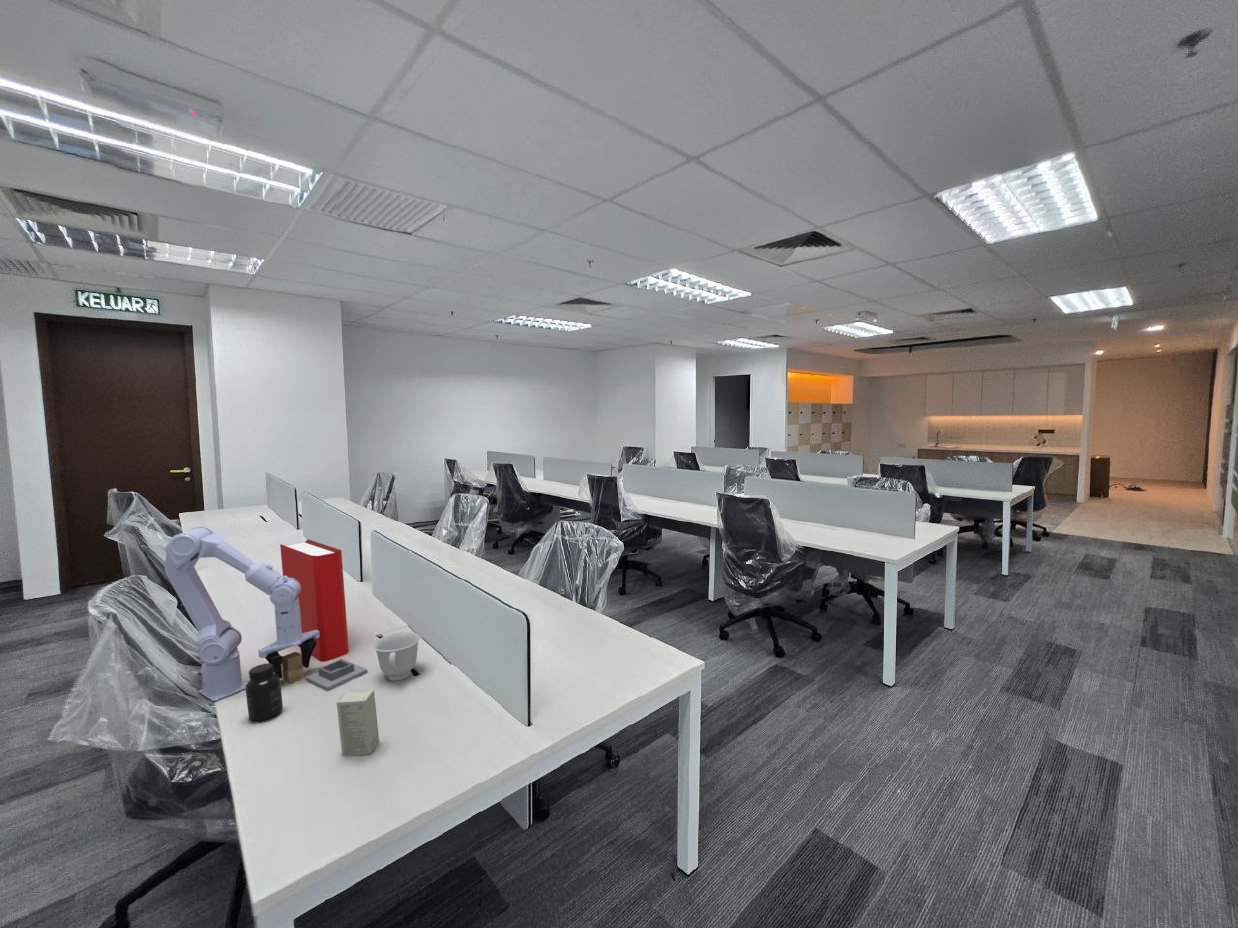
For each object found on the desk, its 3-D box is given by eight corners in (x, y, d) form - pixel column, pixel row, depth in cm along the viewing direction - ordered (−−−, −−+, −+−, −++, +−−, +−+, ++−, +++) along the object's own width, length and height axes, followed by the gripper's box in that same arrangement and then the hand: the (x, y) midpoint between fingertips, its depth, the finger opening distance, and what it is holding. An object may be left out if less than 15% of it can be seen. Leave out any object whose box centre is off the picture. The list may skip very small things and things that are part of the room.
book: (288, 639, 164) (280, 544, 161) (314, 631, 170) (307, 539, 167) (322, 662, 147) (314, 556, 144) (350, 652, 153) (343, 550, 150)
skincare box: (379, 742, 109) (376, 689, 108) (370, 755, 105) (366, 700, 104) (350, 743, 109) (346, 690, 108) (339, 756, 105) (335, 701, 104)
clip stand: (305, 680, 137) (304, 670, 136) (345, 663, 146) (344, 653, 146) (327, 691, 131) (326, 680, 131) (367, 672, 140) (366, 662, 140)
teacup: (368, 695, 128) (366, 658, 127) (379, 668, 142) (377, 634, 142) (418, 688, 131) (416, 651, 130) (424, 662, 146) (422, 629, 145)
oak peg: (283, 681, 137) (281, 656, 136) (296, 675, 140) (294, 651, 139) (289, 684, 135) (287, 659, 134) (303, 678, 138) (301, 654, 137)
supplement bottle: (277, 703, 125) (273, 658, 124) (287, 713, 121) (283, 666, 120) (244, 716, 120) (240, 669, 119) (253, 727, 116) (248, 677, 115)
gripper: (265, 637, 128) (270, 688, 129) (323, 617, 140) (327, 664, 141) (253, 632, 131) (257, 681, 132) (310, 613, 144) (314, 658, 145)
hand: (292, 672), depth 137 cm, fingers open, 6 cm apart
